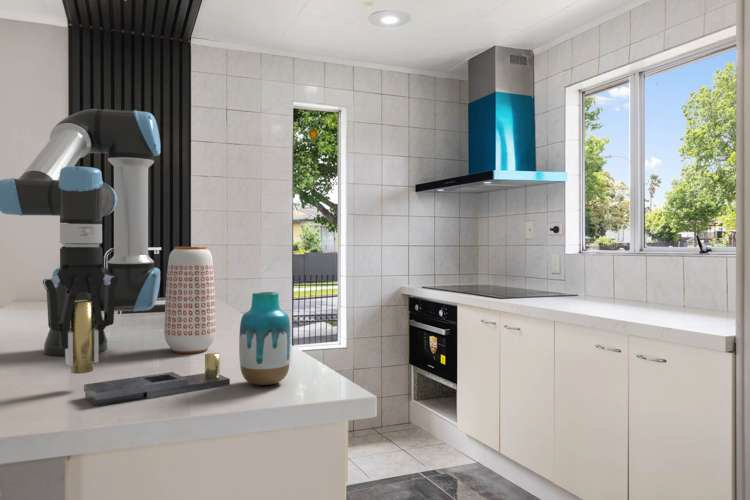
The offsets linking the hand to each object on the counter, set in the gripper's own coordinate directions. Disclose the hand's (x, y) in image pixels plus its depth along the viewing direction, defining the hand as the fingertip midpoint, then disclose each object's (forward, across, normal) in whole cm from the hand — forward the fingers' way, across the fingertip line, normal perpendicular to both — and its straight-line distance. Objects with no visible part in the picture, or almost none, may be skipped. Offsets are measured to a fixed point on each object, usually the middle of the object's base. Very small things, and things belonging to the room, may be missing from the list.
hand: (82, 362), depth 115 cm
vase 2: (+6, +31, -19) cm, 36 cm away
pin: (+2, 0, 0) cm, 2 cm away
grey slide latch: (+5, +12, -11) cm, 17 cm away
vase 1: (+7, +34, +26) cm, 43 cm away
